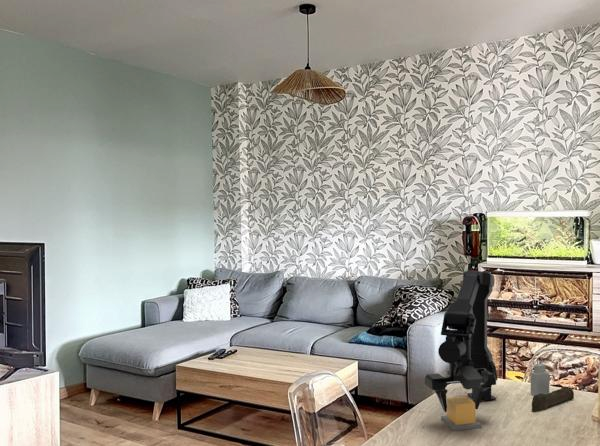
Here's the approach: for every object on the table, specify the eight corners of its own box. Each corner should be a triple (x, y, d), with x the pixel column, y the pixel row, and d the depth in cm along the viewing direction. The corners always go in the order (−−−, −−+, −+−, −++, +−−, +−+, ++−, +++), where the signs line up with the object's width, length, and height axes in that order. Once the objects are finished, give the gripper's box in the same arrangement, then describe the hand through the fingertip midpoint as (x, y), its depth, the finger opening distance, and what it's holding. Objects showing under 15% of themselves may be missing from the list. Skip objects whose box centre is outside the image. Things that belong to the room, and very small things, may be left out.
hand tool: (562, 397, 174) (562, 382, 174) (574, 400, 171) (574, 385, 171) (524, 410, 164) (523, 395, 164) (536, 414, 161) (535, 398, 161)
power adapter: (529, 394, 177) (529, 356, 177) (543, 392, 179) (542, 354, 179) (537, 397, 174) (536, 359, 174) (550, 395, 176) (550, 357, 176)
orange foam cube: (447, 417, 157) (446, 397, 156) (465, 415, 158) (465, 396, 157) (456, 424, 151) (455, 404, 151) (475, 423, 152) (475, 402, 152)
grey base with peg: (441, 419, 158) (440, 402, 157) (467, 417, 159) (467, 399, 159) (453, 430, 150) (453, 412, 150) (481, 427, 151) (481, 409, 151)
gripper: (440, 364, 144) (441, 424, 145) (506, 359, 148) (507, 417, 148) (423, 353, 155) (424, 409, 156) (485, 349, 159) (486, 403, 159)
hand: (460, 410), depth 154 cm, fingers open, 9 cm apart
